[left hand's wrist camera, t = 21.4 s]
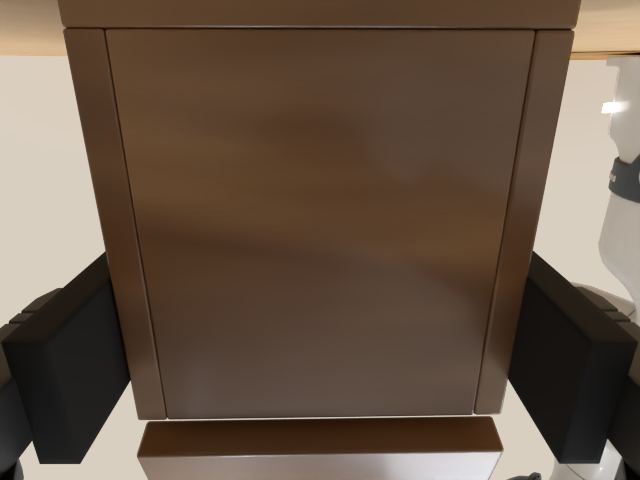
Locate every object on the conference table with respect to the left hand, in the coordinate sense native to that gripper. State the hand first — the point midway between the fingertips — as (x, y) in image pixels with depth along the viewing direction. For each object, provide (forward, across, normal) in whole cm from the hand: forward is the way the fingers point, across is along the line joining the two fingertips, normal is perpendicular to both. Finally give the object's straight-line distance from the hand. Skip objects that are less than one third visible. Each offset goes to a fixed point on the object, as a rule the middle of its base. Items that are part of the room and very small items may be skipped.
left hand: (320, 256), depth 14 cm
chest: (+4, 0, -7) cm, 8 cm away
